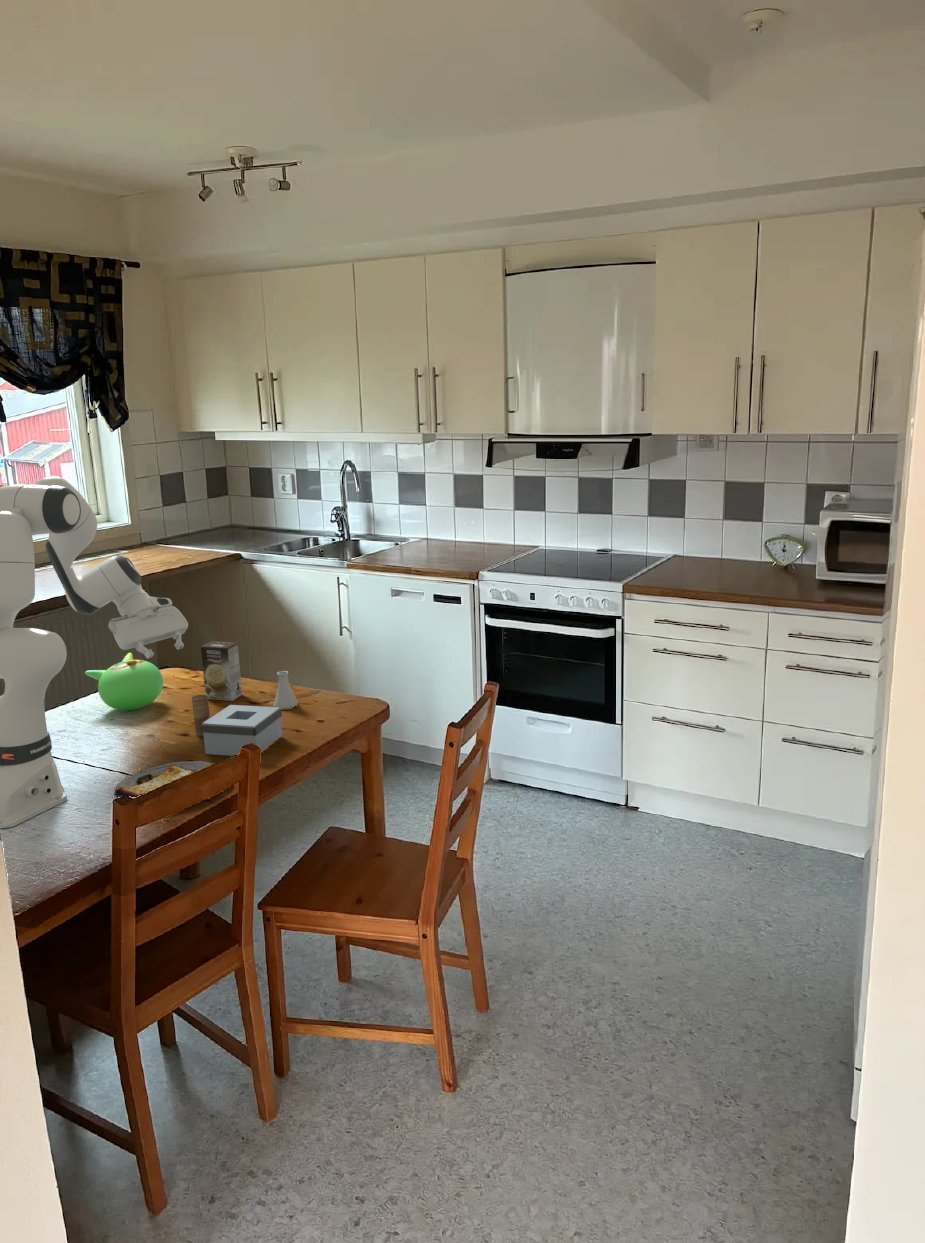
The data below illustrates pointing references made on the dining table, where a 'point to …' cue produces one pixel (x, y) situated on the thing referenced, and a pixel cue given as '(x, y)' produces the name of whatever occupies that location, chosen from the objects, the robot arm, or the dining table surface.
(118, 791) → the food plate
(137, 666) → the toy bird
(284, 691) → the flask
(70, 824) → the dining table surface
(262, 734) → the collar block
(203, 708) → the beige cylinder
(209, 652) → the coffee box
